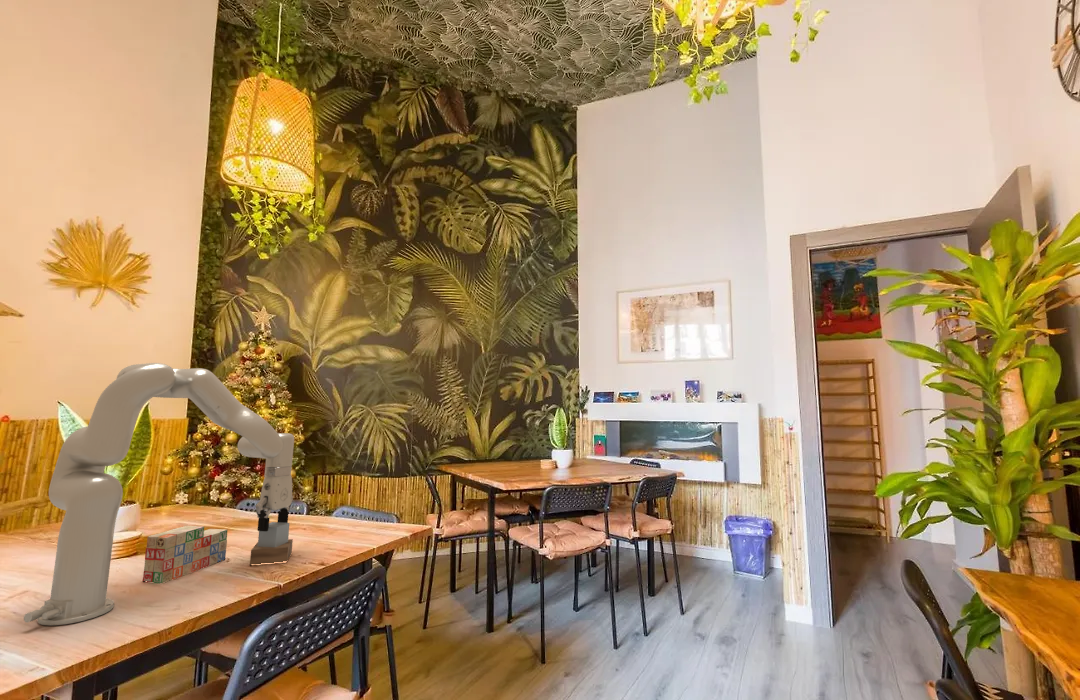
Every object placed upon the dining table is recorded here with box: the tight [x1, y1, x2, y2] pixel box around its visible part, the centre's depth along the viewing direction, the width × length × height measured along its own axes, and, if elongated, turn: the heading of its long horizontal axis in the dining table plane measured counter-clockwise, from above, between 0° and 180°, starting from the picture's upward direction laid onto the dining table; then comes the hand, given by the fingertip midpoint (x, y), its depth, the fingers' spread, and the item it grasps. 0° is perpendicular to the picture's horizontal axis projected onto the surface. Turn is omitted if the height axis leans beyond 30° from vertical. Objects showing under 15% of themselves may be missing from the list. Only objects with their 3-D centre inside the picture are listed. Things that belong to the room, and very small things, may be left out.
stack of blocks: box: [142, 525, 228, 584], centre depth 140 cm, size 21×6×12 cm, turn 170°
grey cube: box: [257, 521, 290, 547], centre depth 151 cm, size 6×6×6 cm
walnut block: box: [249, 538, 294, 566], centre depth 150 cm, size 10×10×5 cm
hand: (272, 527), depth 151 cm, fingers open, 9 cm apart
